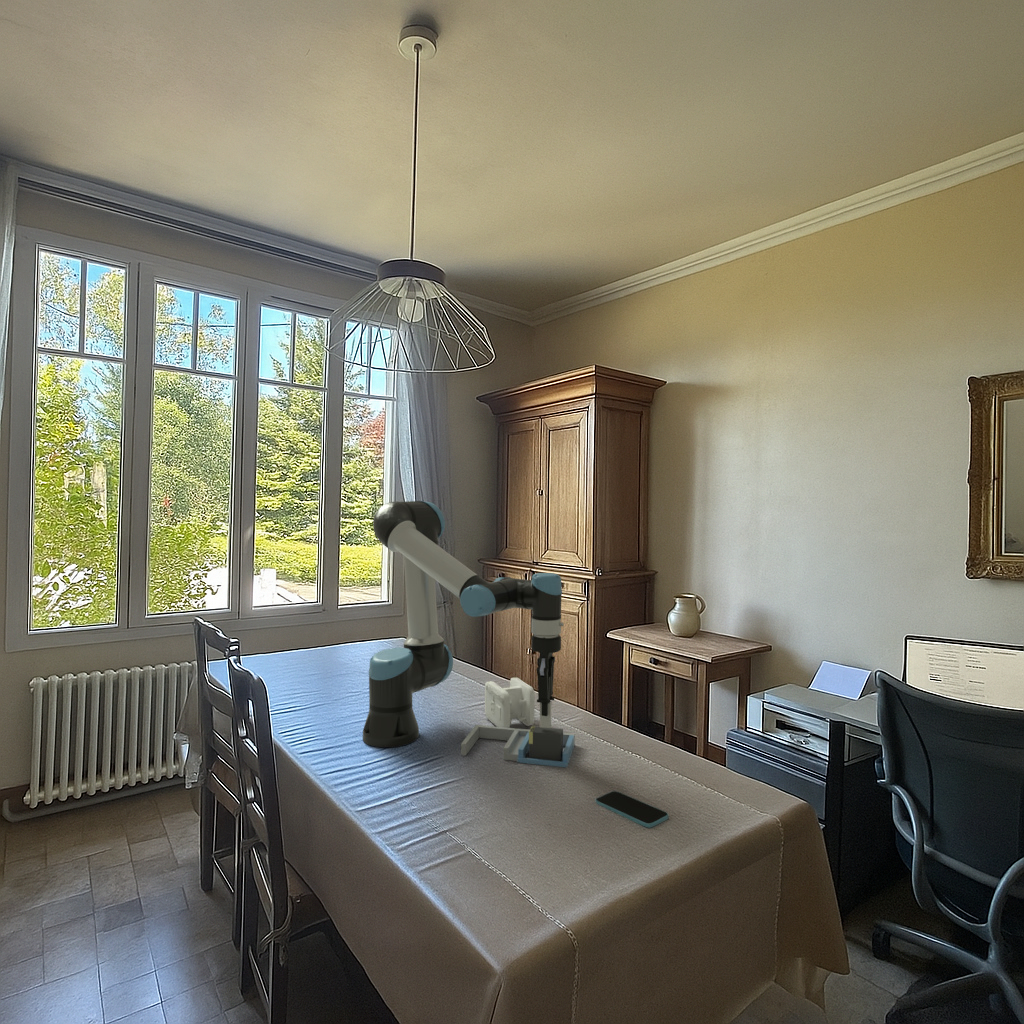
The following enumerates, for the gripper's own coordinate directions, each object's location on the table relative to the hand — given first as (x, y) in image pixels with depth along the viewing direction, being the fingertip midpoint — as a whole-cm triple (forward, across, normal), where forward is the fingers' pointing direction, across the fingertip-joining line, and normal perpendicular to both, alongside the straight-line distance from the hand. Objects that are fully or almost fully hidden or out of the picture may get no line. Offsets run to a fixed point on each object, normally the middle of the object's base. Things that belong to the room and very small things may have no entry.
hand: (545, 726), depth 164 cm
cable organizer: (+8, +21, +14) cm, 27 cm away
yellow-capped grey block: (+8, 0, 0) cm, 8 cm away
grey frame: (+8, +3, +7) cm, 11 cm away
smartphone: (+8, -22, -23) cm, 33 cm away
